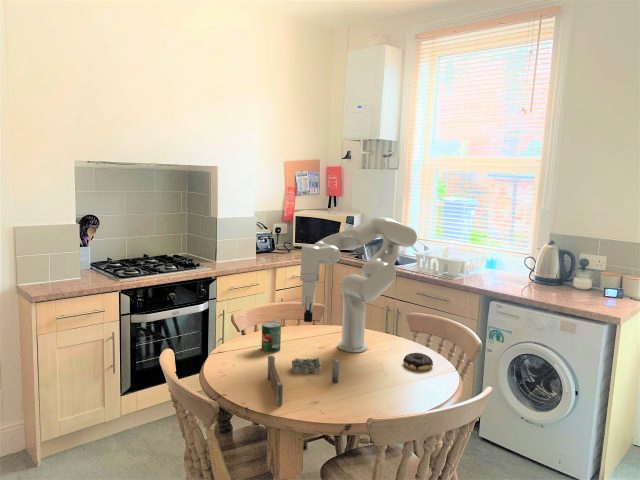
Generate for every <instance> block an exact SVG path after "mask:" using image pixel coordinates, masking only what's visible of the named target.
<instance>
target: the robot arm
mask: <svg viewBox="0 0 640 480" xmlns="http://www.w3.org/2000/svg"><path fill="white" fill-rule="evenodd" d="M377 238H379V239H382V245H381V248H380V249H379V250H378V251H377V252H376V253H375V254H374V255H373V256H372V257H370V258H369V259H368V260H367V261H366V262H365V263H364V264H363V266H362V268H361V274H362V275H359V274H356V273H352V274H350V273H349V274H347V275H345V277H344V278H343V280H342V282H341V292H342V293H341V294H342V301H343V302H342V303H343V304H342V321H341V322H342V324H341V327H342V328H341V340H340V341H339V342H338V343H337V348H338V349H339V350H341V351H343V352H348V353H362V352H366V350H367V349H368V344H367V343H366V342H365V331H366V330H365V328H366V303H370V302H371V303H372V302H373V301H374V300H375V301H376V299H377V298H378V297H380V296H381V295H382V294H383V293H384V292H385V291H386V290H387V289H388V288H389V287H390V286H391V285H392V284H394V281H395V279H396V277H397V269H396V267H395V266H394V265H395V263H396V262H397V260H398V258H399V250H400V248H399V246H400V247H404V248H410V247H412V246H414V245H415V243H416V242H417V240H418V235H417V232H416V230H415V229H414V228H413V227H411V226H408V225H406V224H402V223H401V222H398V221H396V220H394V219H392V218H389V217H381V216H374V217H370V218H369V219H366V220H365V221H363V222H361V223H359V224H357V225H356V226H354V227H352V228H350V229H347V230H343V231H341V232H340V231H339V232H337V233H333V234H330V235H328V236H326V237H324V238H322V239H320V240H318V241H317V242H315V243H314V244H305V245H302V247H301V251H300V273H299V274H300V277H299V278H300V279H299V281H301V282H302V286H301V302H300V306H301V307H304V312H303V322H304V323H312V322H313V313H314V312H313V306H314V304H315V300H316V289H317V283H318V282H319V281H320V271H321V269H320V267H321V264H322V265H323V264H324V265H334V264H337V263H338V262H339V261H340V259H341V255H342V254H341V251H342V250H354V249H359V248H361V247H364V246H365V245H366V244H369V243H370V242H372V241H374V240H376V239H377Z"/></svg>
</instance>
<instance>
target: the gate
mask: <svg viewBox="0 0 640 480" xmlns="http://www.w3.org/2000/svg"><path fill="white" fill-rule="evenodd" d="M270 383H271V386H272V389H273V392H274V395H275V398H276V405H277V406H283V397H284V396H283V395H284V393H283V392H284V389H283V387H284V386H283V385H284V384H283V382H282V381H281V378H280V375H279V374H278V371H277V368H276V365H274V362H270Z"/></svg>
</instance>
